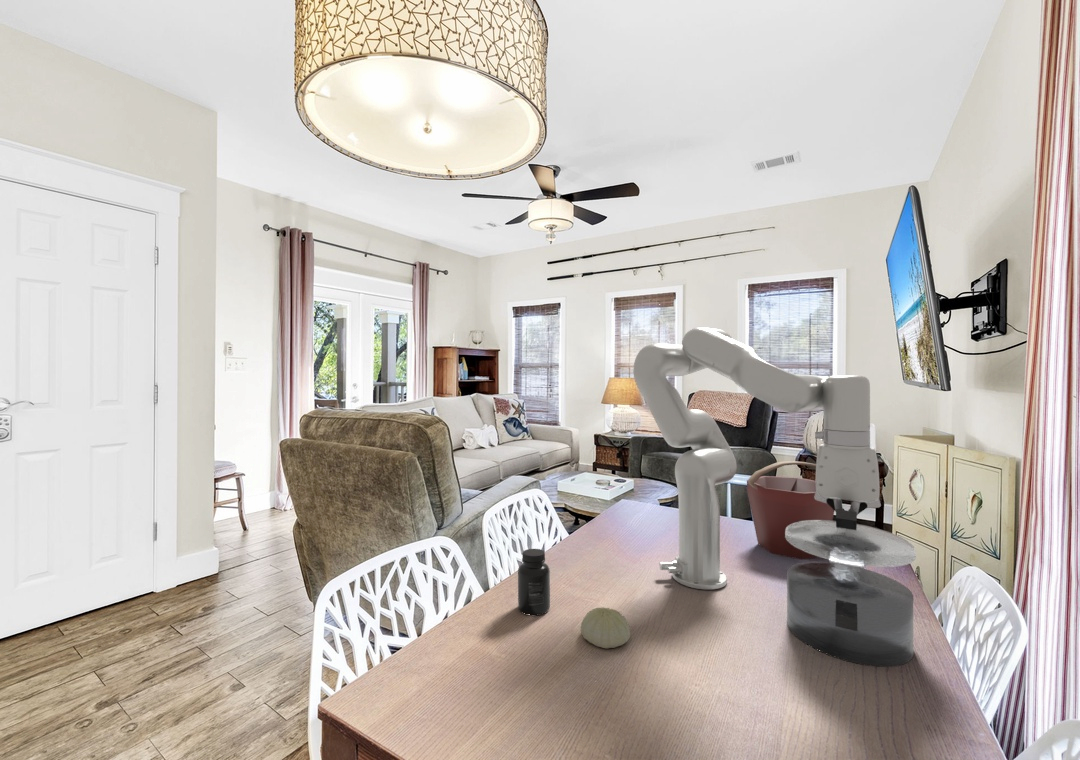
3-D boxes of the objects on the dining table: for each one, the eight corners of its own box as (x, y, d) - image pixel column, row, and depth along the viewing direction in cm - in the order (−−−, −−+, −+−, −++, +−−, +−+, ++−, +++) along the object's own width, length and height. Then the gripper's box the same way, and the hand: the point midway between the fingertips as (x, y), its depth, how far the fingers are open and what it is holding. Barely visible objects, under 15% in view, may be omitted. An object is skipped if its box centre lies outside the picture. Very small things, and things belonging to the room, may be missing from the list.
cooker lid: (925, 530, 74) (923, 515, 75) (777, 510, 86) (778, 497, 87) (910, 574, 92) (909, 562, 93) (789, 553, 103) (790, 542, 104)
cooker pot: (925, 701, 70) (925, 634, 70) (777, 657, 81) (777, 600, 81) (906, 623, 93) (906, 573, 93) (792, 598, 104) (792, 553, 104)
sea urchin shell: (602, 649, 81) (584, 603, 86) (585, 664, 86) (569, 619, 91) (643, 635, 85) (624, 592, 90) (625, 650, 90) (607, 608, 95)
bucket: (824, 539, 142) (824, 457, 142) (858, 567, 121) (858, 471, 121) (738, 533, 147) (738, 454, 147) (756, 560, 126) (756, 467, 126)
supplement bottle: (555, 604, 101) (555, 549, 101) (542, 619, 95) (541, 560, 95) (526, 598, 104) (526, 544, 104) (512, 612, 97) (512, 555, 97)
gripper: (800, 438, 91) (800, 533, 91) (897, 444, 83) (897, 547, 83) (803, 434, 97) (803, 523, 97) (892, 439, 89) (892, 535, 89)
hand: (846, 534), depth 90 cm, fingers closed
